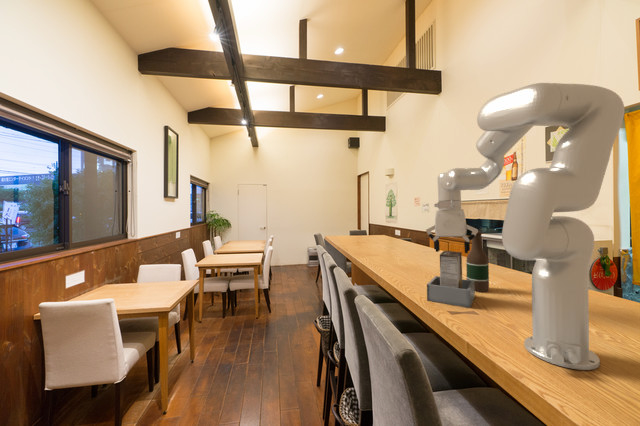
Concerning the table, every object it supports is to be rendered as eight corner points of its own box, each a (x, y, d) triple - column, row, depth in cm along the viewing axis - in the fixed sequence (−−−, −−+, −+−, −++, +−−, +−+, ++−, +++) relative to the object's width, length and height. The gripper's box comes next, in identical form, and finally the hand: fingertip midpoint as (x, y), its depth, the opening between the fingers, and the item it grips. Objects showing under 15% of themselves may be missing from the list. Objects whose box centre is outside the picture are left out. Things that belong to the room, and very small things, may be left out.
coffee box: (444, 291, 103) (443, 250, 103) (463, 294, 99) (462, 251, 99) (439, 298, 96) (438, 254, 95) (459, 301, 92) (458, 255, 92)
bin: (470, 308, 88) (469, 290, 88) (427, 300, 96) (426, 284, 96) (474, 296, 99) (474, 280, 99) (435, 290, 107) (435, 276, 107)
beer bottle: (462, 288, 110) (461, 231, 109) (476, 285, 112) (475, 230, 112) (478, 293, 102) (477, 232, 102) (493, 291, 105) (492, 231, 104)
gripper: (422, 207, 99) (424, 252, 99) (475, 204, 89) (477, 254, 88) (427, 207, 105) (429, 249, 105) (477, 204, 95) (479, 252, 95)
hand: (451, 252), depth 97 cm, fingers open, 9 cm apart
